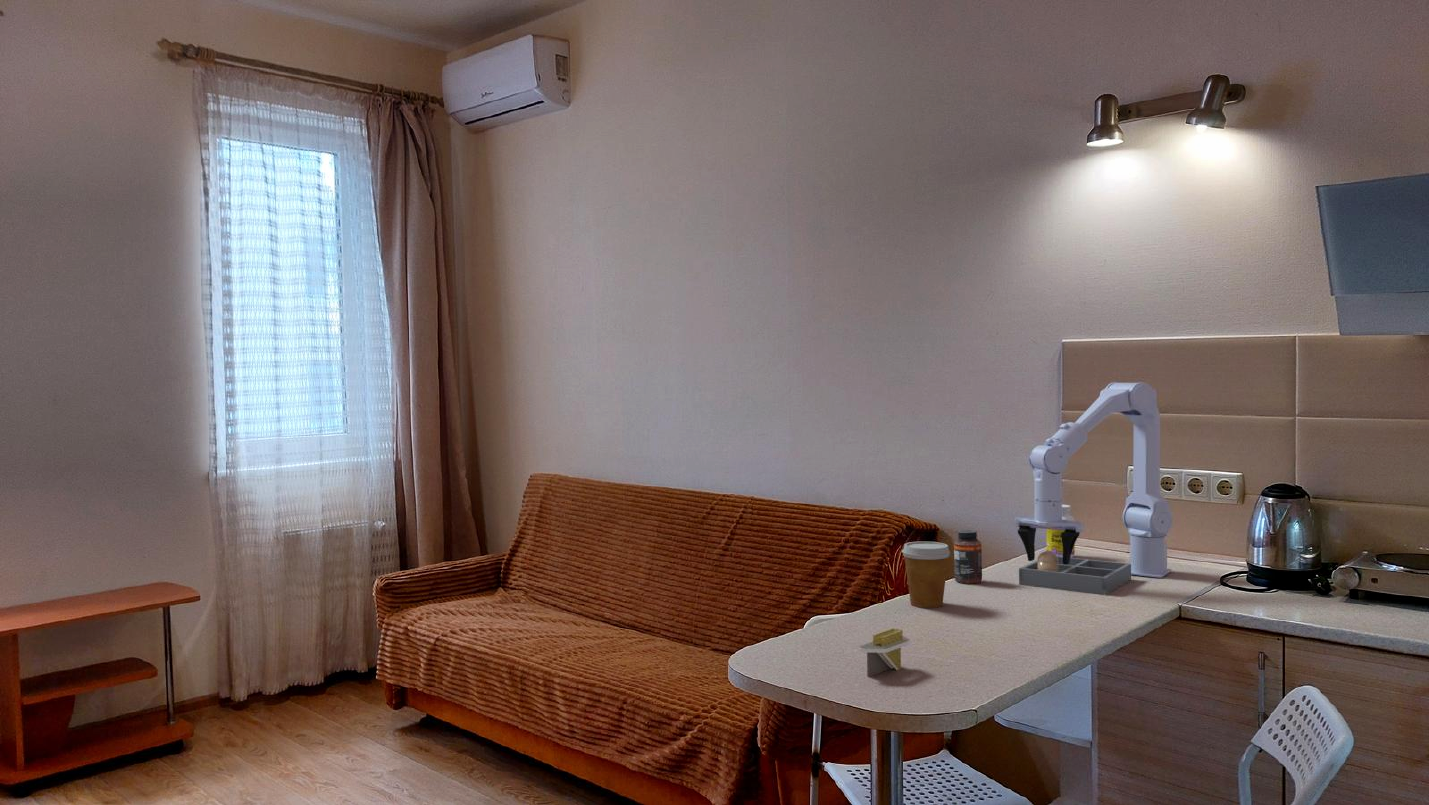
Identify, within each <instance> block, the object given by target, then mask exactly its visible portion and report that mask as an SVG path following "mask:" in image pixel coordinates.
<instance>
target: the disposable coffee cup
mask: <svg viewBox="0 0 1429 805" xmlns="http://www.w3.org/2000/svg"><path fill="white" fill-rule="evenodd" d="M901 553H902V555H903V557H904V564H905V570H906V572H905V573H906V578H907V585H908V593H909V601H910V605H911V606H913V607H916V608H921V609H922V608H925V609H933V608H941V607H942V606H943V604H944V596H945V587H946V580H947V571H948V570H947V569H948V561H949V557H950V555H951V550H950V549H949V545H948V544H946V543H943V542H937V541H911V542H906V543H904V545H903V549H902V550H901Z"/></svg>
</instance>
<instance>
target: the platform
mask: <svg viewBox="0 0 1429 805" xmlns="http://www.w3.org/2000/svg"><path fill="white" fill-rule="evenodd" d="M903 631H904V630H903V629H899V628H890V629H887V630H884V631H881V632H878V633H876V634H873V635H872V642H868V643H865V644H863V645H860V646H858V651H859V652H862V653H866V663H867V664H866V666H867V667H866V669H867V671H866V673H867V674H866V675H867V678H869V677H871V676H874V675H877V674H880V673H882V672H885V671H887V670H889V669H890V670H893V669H895V670H896V671H899V670H901V669H902V662H901V661H902V659H901V657H902V656H901V655H902V652H901V649H902V647H905V646H908V645H910V644H911V639H910V638H907V637H906V636H904V634H903Z"/></svg>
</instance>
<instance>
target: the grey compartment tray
mask: <svg viewBox="0 0 1429 805" xmlns="http://www.w3.org/2000/svg"><path fill="white" fill-rule="evenodd" d="M1057 557H1058V561H1059V572H1054V571H1045V570H1037V560H1034V561H1031V563H1027V564H1026V565H1024V566H1021V567H1018V585H1022V586H1031V587H1037V588H1038V587H1039V588H1046V589H1056V590H1063V591H1070V592H1079V593H1088V594H1097V595H1103V594H1105V595H1104V596H1107V595H1109V594H1110V593H1111V592H1113V591H1114V590H1116V589H1118V588H1119V586H1120V587H1121V586H1122V585H1124V584H1126V583H1128V582H1129V581H1131V580H1132V575H1131V564H1130V563H1128V562H1117V561H1108V560H1099V559H1098V560H1096V559H1087V558H1079V557H1076V558H1075V557H1073V558H1070V561H1069V564H1067V565H1063V557H1059V556H1057ZM1106 594H1107V595H1106Z"/></svg>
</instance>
